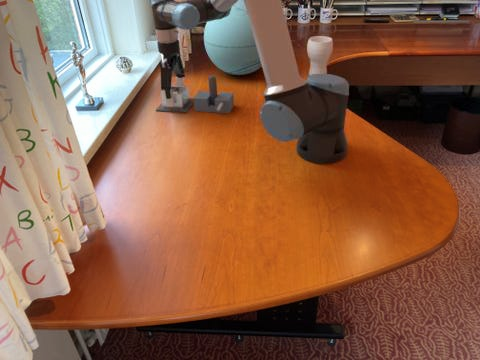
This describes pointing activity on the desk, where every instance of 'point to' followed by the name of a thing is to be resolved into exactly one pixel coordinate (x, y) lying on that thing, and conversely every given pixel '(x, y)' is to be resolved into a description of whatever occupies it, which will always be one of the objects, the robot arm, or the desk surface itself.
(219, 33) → the globe
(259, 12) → the robot arm
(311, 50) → the cup
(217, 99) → the vise
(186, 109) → the mat
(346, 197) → the desk surface
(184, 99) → the collar
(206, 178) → the desk surface
